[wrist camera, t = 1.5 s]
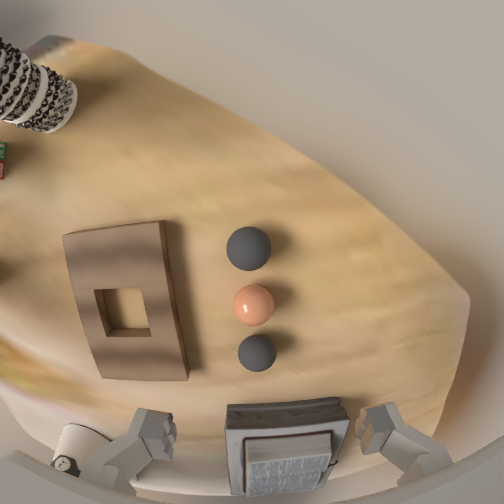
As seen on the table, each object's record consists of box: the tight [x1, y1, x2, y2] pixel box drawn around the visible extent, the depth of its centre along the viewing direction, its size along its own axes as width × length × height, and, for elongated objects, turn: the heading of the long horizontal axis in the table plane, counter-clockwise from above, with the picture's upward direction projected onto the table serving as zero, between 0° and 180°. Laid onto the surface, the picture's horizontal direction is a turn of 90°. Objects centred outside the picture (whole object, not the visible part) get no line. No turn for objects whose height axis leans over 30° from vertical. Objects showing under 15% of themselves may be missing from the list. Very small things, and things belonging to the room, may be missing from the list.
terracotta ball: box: [233, 285, 274, 326], centre depth 33 cm, size 5×5×5 cm
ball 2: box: [238, 335, 276, 372], centre depth 35 cm, size 5×5×5 cm
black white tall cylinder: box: [0, 37, 78, 133], centre depth 16 cm, size 9×9×25 cm
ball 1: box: [227, 227, 271, 271], centre depth 32 cm, size 5×5×5 cm
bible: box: [224, 397, 350, 497], centre depth 39 cm, size 23×27×10 cm
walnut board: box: [62, 220, 190, 381], centre depth 34 cm, size 22×14×2 cm, turn 4°
